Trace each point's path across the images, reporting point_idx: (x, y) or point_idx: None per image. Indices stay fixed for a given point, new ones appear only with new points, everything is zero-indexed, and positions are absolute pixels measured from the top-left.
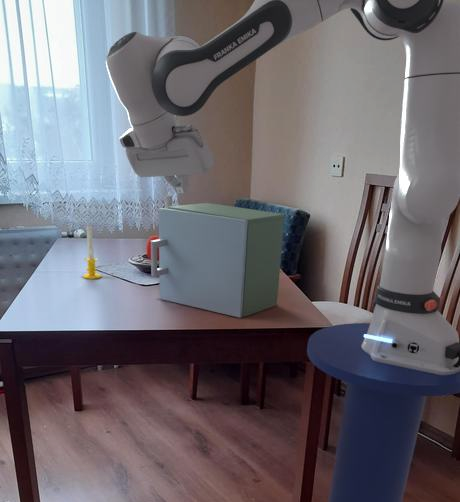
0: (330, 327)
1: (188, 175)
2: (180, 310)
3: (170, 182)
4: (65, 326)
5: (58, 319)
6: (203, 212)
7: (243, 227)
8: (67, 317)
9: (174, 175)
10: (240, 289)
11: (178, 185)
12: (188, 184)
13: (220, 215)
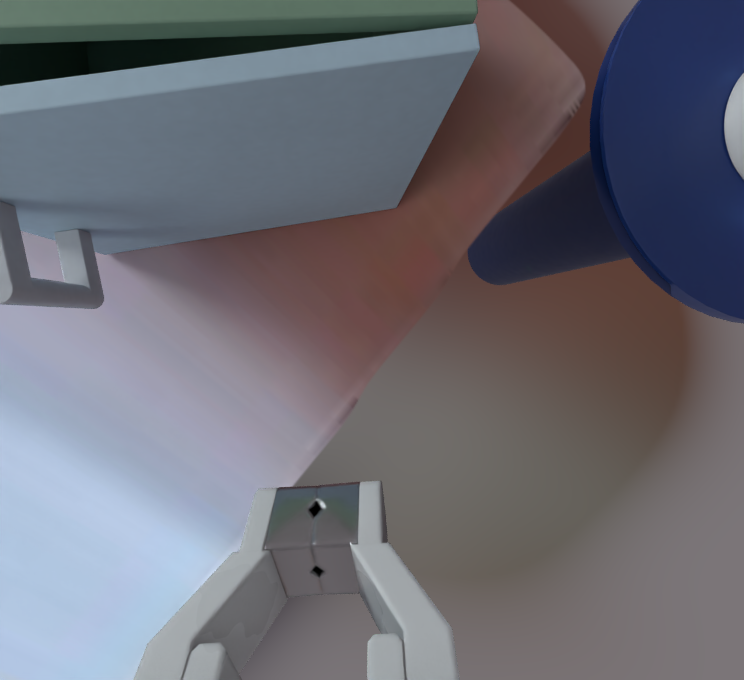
0: (612, 93)
1: (438, 612)
2: (235, 284)
3: (241, 657)
4: (154, 610)
5: (91, 595)
6: (91, 25)
7: (455, 73)
8: (90, 568)
9: (230, 659)
10: (404, 183)
11: (305, 582)
12: (382, 519)
13: (247, 21)
